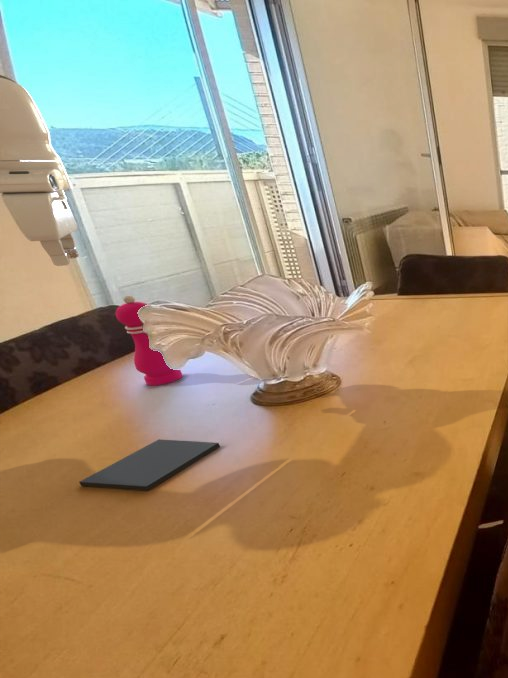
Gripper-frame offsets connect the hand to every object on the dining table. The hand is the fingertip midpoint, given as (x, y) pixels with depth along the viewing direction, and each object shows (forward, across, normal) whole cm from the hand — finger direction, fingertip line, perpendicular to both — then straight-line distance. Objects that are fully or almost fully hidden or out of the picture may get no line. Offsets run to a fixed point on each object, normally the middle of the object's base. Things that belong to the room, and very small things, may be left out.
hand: (67, 261), depth 86 cm
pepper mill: (+30, -13, +5) cm, 33 cm away
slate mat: (+30, +31, +4) cm, 43 cm away
